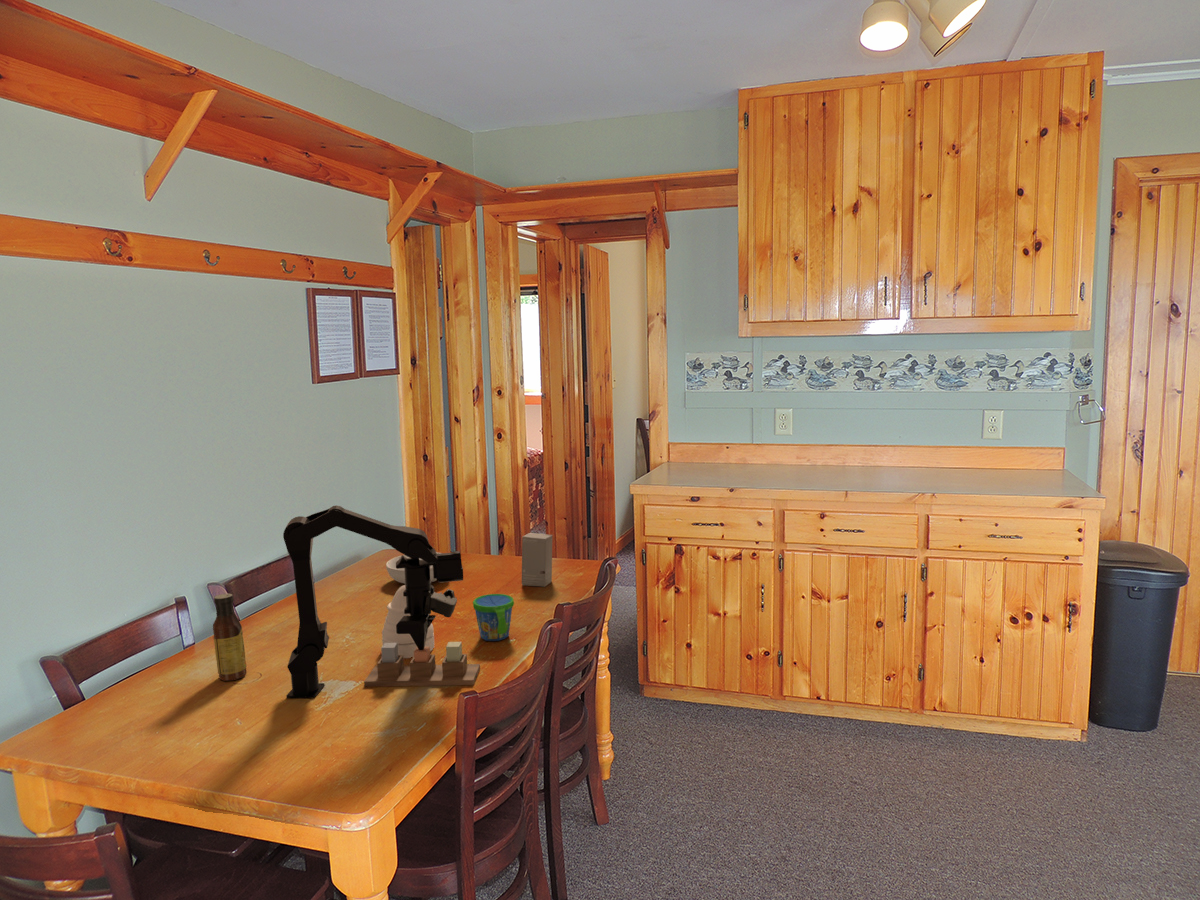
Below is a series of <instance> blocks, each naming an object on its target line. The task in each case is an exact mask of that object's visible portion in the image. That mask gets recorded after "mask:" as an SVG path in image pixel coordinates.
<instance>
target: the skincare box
mask: <svg viewBox="0 0 1200 900" xmlns="http://www.w3.org/2000/svg"><path fill="white" fill-rule="evenodd" d="M521 539H522V540H521V541H522V543H521V546H522V547H521V585H522V586H527V587H528V586H529V587H543V588H545V587H547V586H549V584H551V583H552V580H553V579H552V578H553V577H552V576H553V575H552V574H553V534H547V533H546V534H545V533H535V532H528V533H527V534H525V535H522V538H521Z"/></svg>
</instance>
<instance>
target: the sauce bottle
mask: <svg viewBox="0 0 1200 900" xmlns="http://www.w3.org/2000/svg"><path fill="white" fill-rule="evenodd" d="M213 600H214V602H213V603H214V604H215V610H216V618H215V619H214V621H213V624H212V631H213V643H214V644H213V645H214V651H215V652H214V653H215V662H216V666H217V667H216V668H217V674H218V678H219V679H220V681H223V682H231V681H232V682H233V681H236V680H239V679H241V678H244V677H245V676H246V675H247V659H246V651H245V642H244V636H243V635H244V634H243V632H244V631H243V628H242V627H243V626H242V624H241V621H240V620H239V618H238V617H237V614H236V612H235V607H234V595H233V594H232V593H221V594H217V595H216V596H214V597H213Z"/></svg>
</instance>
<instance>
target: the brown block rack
mask: <svg viewBox="0 0 1200 900" xmlns="http://www.w3.org/2000/svg"><path fill="white" fill-rule="evenodd" d="M398 657H399V659H398V661H397V662H385V663H382V656H381V657H380V659H379V660H378V662H377V663H376V665H375V666H373V668H372V670H371V671H370V673H369V674H367V676H366V678H365V679H364V681H363V686H364V687H420V686H421V687H424V686H425V687H426V686H428V687H429V686H430V687H431V686H433V687H434V686H438V687H439V686H474V685H475V682H476V680H477V678H478V675H479V673H480V670H481V664H480V663H469V664H468V654H467V653H462V661H454V662H447V655H446V654H445V656H444V658H443V659H442V662H441V664H436V654H430V660H429V662H414V657H413V658H411V660H410V662H409V664H405V661H404V660H405V658H403V655H398Z"/></svg>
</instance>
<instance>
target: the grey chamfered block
mask: <svg viewBox="0 0 1200 900" xmlns="http://www.w3.org/2000/svg"><path fill="white" fill-rule="evenodd" d="M380 651H381V657H382V663H385V662H397V661H398V659H399V657H398V643H384V645H382V646H381V648H380Z"/></svg>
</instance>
